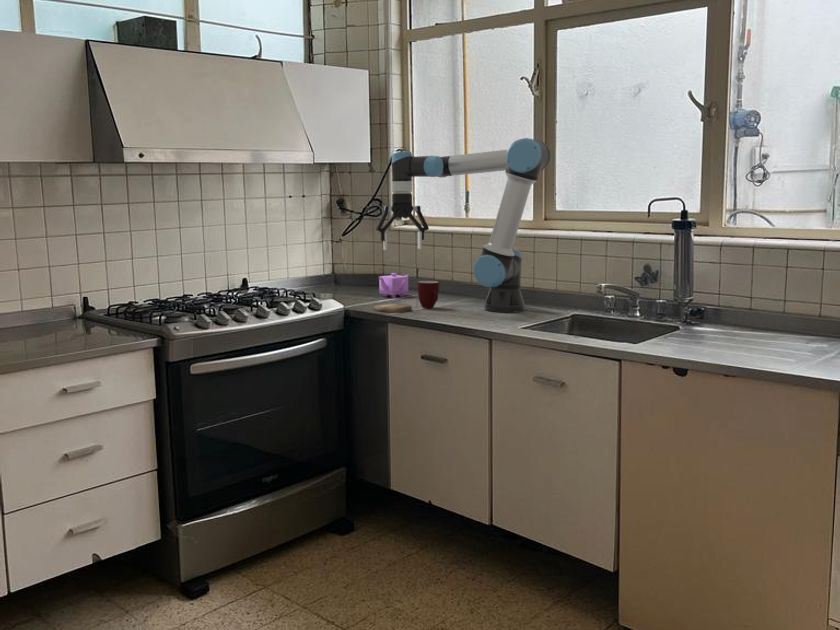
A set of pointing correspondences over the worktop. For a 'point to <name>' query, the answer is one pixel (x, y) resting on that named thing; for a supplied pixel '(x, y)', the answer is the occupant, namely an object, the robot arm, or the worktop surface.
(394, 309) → the trivet
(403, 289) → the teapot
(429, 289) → the mug
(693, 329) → the worktop surface
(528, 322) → the worktop surface
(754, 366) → the worktop surface
